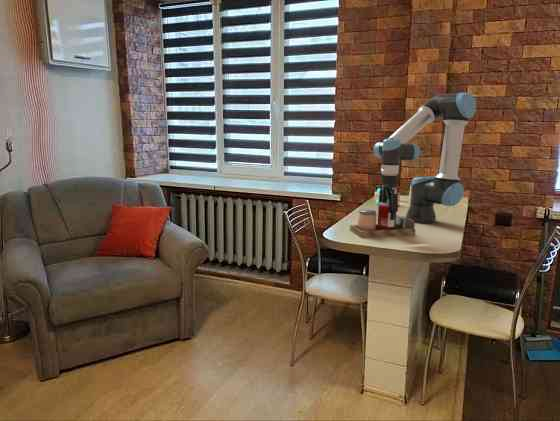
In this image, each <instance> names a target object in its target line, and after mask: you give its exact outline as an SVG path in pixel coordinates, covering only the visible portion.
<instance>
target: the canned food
mask: <svg viewBox="0 0 560 421" xmlns="http://www.w3.org/2000/svg"><path fill="white" fill-rule="evenodd" d="M377 205H378V204H377ZM388 211H389V203H388V202H380V203H379V205H378V208H377V222H376V224H377V225H378V227H379V228H383V229H393V228H395V225H396V215H397V212H395V218H394V227H388Z"/></svg>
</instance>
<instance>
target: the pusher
mask: <svg viewBox="0 0 560 421" xmlns="http://www.w3.org/2000/svg"><path fill="white" fill-rule="evenodd" d="M402 217H403V216H400V215H398V214H396V225H395V228H393V229H394V230H397V229H405V226H407V223H406V219H405V218H402Z"/></svg>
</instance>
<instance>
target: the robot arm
mask: <svg viewBox="0 0 560 421" xmlns="http://www.w3.org/2000/svg"><path fill="white" fill-rule="evenodd" d="M476 111H477V101H476V99H475V98H474V96H473V95H472V94H471V93H469V92H453V93H440V94H437V95H435V96H433V97H432V98H430V99H428V100H426V102H424V103H423V104H422V105H421V106H420V107H419V108H418V109H417V112H416V113H414V114H413V115H412V116H411V117H410V118H409V119H408V120H406V122H405V123H404V124H402V125H401V126H400V127H399V128H398V129H397V130H395V131H394V132H393V133H392V134H391V135H390V136H389V137H388V138H386V139H384V140H382V141H380V142H376V143H375V144H374V146H373V154H374V156H375V157H377V158H378V159H379V158H380V159H381V167H380V172H381V175H380V183H381V184H382V185H379V188H380V194H378V199H379V201H378V204H377V205H379V203H380V202H387V200H388V203H389V211H388V227H394V218H395V212H396V213H398V212H399V204H398V203H399V199H398V198H399V189H397V188H396V184H398V182H399V175H398V174H399V172H400V171H399V170H400V161H410V162H411V161H413V160H414V161H415V160H418V158H420V154H421V148H420V146H419V145H418V144H416V143H411V142H410V143H408V142H409V141H410V140H411V139H412V138H413V137H415V135H417V134H418V133H420V131H421V130H422V129H423V128H425V127H426V125H428V124H431V123H434V121H436V120H438V119H442V122H444V124H445V129H444V134H443V142H442V150H441V157H440V162H439V171H438V174H436V176H421V177H414V178H412V180H411V185H410V186H411V187H410V199H409V200H410V204H409V207H408V209H407V213H406V215H405V217H406V218H408V219H411V220H413V221H415V224H416V223H419V224H432V223H433V224H434V223H436V220H437V216H436V212H435V208H434V204H437V205H443V206H446V207H452V206H453V207H454V206H456V205H457V204H459V202H461V201H462V198H463V196H464V192H465V189H464V188H465V187H464V186H463V184H462V183H461V178H460V177H459V176H458V174H459V166H460V159H461V154H462V146H463V140H464V132H465V126H466V125H468V124H469V122H470V118H473V117H474V116H475V114H476Z"/></svg>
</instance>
